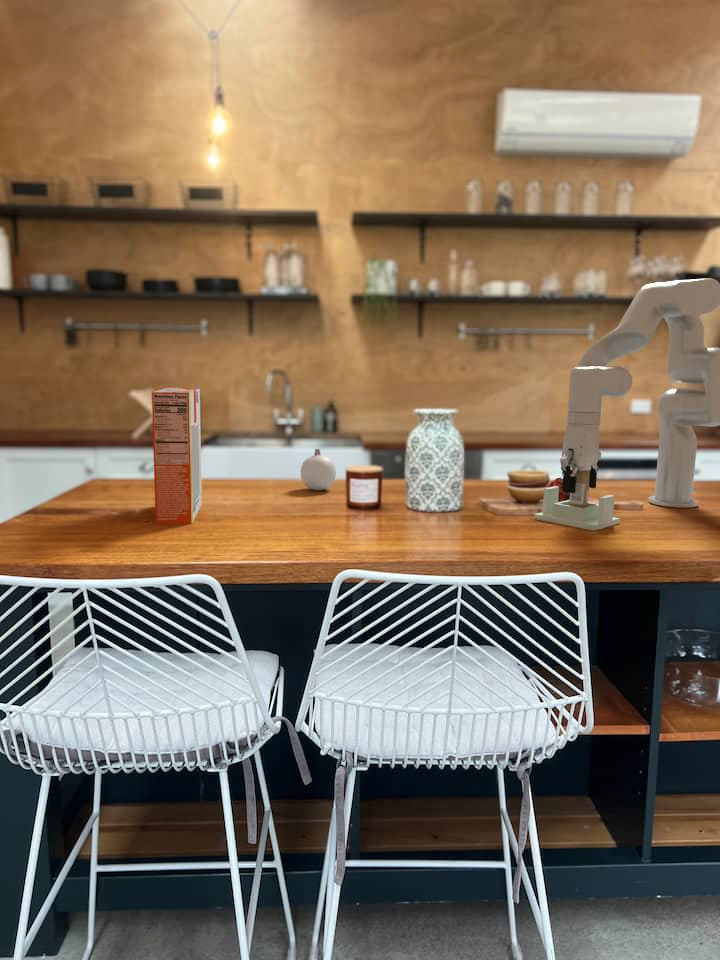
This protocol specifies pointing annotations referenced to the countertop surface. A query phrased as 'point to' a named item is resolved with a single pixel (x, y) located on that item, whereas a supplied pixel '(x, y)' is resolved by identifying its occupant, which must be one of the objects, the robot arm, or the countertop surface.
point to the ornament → (318, 472)
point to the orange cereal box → (177, 454)
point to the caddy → (577, 512)
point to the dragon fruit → (560, 489)
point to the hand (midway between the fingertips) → (579, 489)
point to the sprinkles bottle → (581, 487)
